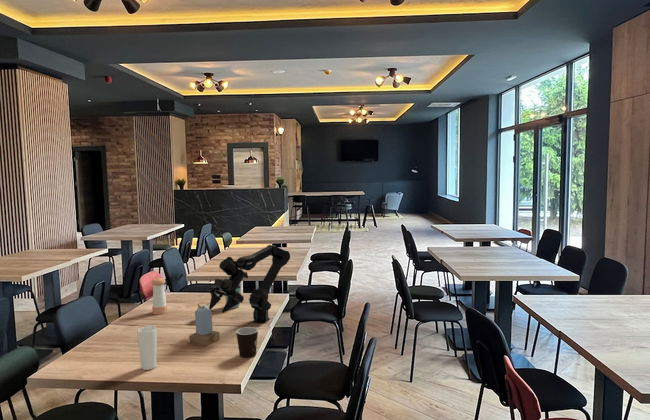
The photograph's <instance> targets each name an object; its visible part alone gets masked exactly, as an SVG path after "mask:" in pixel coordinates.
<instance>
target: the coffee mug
mask: <svg viewBox="0 0 650 420" xmlns="http://www.w3.org/2000/svg"><path fill="white" fill-rule="evenodd" d="M235 331H236V332H235V334H236V340H237V347H238V353H239V357H240V358H242V359H252V358H254V357H256V355H257V346H258V335H259V329H258V328H257V327H253V326H246V327H239V329H237V330H235Z"/></svg>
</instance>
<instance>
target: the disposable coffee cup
mask: <svg viewBox="0 0 650 420" xmlns="http://www.w3.org/2000/svg"><path fill="white" fill-rule="evenodd" d="M239 286H240V288H239V289H238V288H237V290H236V291H237V292H239V293H240V294H241V295H242V291H241V290H242V282H241V283H240V285H239ZM224 294H225V293H224ZM224 298H225V304H226V303H227V301H228V297H227V296H224ZM240 305H241V303H239V304H237V305H235V306H234V307H232V308H231V309H236V308H237V309H238V308H239V307H240Z"/></svg>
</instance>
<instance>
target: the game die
mask: <svg viewBox="0 0 650 420" xmlns="http://www.w3.org/2000/svg"><path fill="white" fill-rule="evenodd" d="M209 305H210V302H208V303H207V304H200V305H199V304H197V310H200V309H204V308H206V309H209ZM210 310H211V311H212V312H213V310H212V309H210Z"/></svg>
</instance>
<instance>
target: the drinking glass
mask: <svg viewBox="0 0 650 420" xmlns="http://www.w3.org/2000/svg"><path fill="white" fill-rule="evenodd" d="M137 345H138V350H139V351H138V352H139V358H140V366H141V367H140V368H141V369H142V370H143V371H149V370H150V369H151V370H153V369H155V368H157V354H158V353H157V349H158V329H157V327H156V326H154V325H147V326H143V327H139V328H138V329H137Z"/></svg>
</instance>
